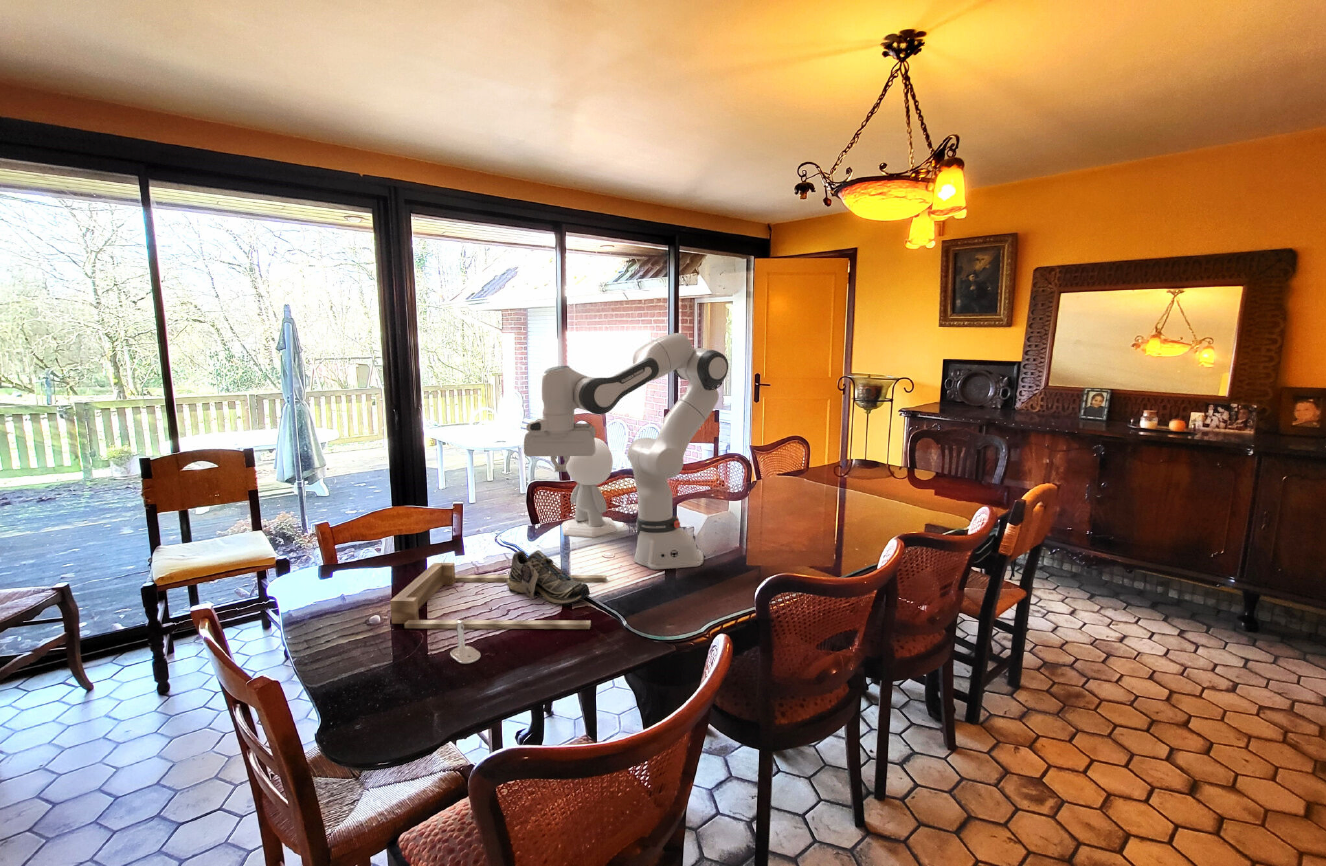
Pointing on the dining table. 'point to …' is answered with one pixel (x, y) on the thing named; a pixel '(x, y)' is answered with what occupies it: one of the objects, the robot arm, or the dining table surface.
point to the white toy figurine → (589, 493)
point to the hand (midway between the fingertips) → (560, 471)
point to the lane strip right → (505, 578)
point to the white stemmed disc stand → (464, 648)
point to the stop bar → (421, 591)
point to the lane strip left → (500, 624)
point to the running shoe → (544, 579)
